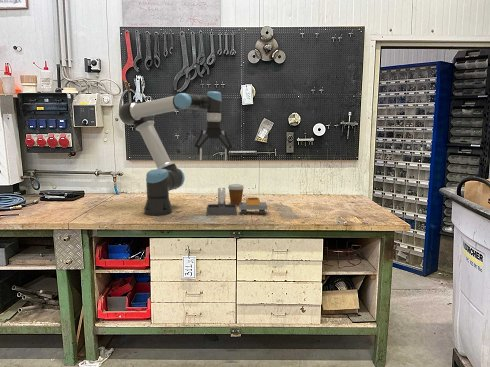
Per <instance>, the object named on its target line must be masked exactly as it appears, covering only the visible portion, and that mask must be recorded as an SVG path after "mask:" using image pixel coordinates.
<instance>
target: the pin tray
mask: <svg viewBox="0 0 490 367" xmlns="http://www.w3.org/2000/svg"><path fill="white" fill-rule="evenodd" d="M237 208H238V206H236V204H231V203H225V208H218V203H217V204H214V203H212V204H207V206H206V216H237V215H238V213H237V210H238V209H237Z"/></svg>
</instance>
